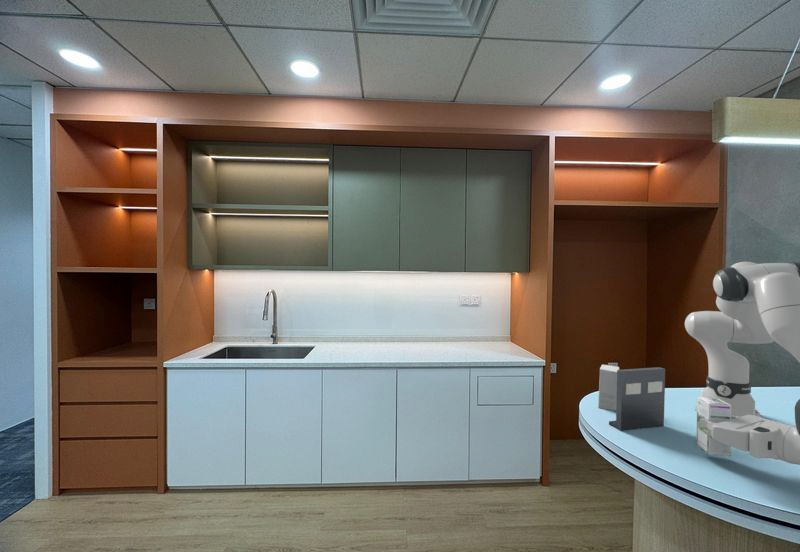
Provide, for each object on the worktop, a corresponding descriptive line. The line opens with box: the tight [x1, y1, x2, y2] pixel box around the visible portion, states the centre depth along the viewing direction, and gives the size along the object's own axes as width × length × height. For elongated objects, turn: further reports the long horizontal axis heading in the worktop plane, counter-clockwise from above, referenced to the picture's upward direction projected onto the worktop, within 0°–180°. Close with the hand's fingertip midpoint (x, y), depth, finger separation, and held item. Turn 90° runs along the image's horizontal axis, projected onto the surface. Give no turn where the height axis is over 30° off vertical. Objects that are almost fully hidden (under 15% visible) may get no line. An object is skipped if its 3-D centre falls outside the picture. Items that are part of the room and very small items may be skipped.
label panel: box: [608, 366, 666, 432], centre depth 124 cm, size 18×5×20 cm, turn 103°
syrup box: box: [696, 396, 732, 457], centre depth 102 cm, size 6×6×14 cm
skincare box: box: [597, 364, 620, 412], centre depth 141 cm, size 8×7×16 cm
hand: (710, 418), depth 103 cm, fingers closed on syrup box, 8 cm apart
